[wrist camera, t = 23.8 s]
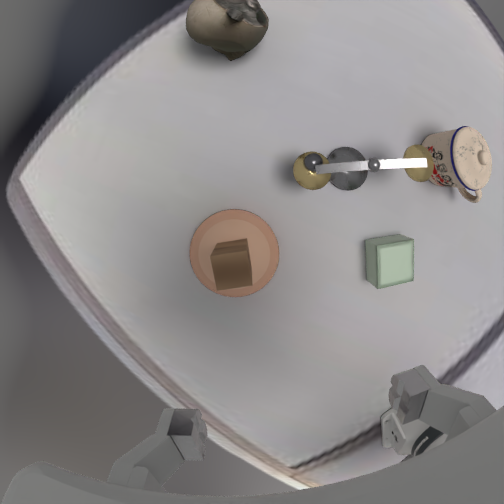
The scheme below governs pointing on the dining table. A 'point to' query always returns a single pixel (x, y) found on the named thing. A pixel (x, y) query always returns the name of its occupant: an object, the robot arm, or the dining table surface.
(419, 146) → the balance
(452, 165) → the teacup with lid
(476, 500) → the robot arm
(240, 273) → the block
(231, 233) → the saucer
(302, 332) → the dining table surface
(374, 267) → the cover
